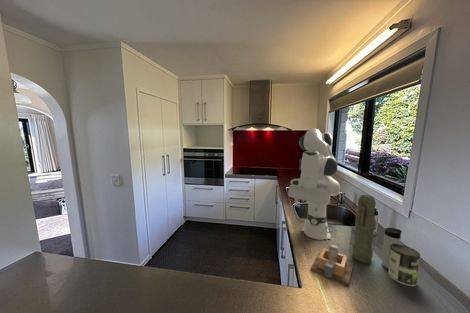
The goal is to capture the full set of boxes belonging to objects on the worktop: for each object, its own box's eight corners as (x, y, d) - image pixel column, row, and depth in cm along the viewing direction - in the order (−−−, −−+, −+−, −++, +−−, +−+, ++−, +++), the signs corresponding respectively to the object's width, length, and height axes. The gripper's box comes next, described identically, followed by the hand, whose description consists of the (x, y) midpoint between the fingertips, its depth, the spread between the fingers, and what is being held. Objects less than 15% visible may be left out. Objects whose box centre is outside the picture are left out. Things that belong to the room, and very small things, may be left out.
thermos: (349, 259, 101) (355, 196, 98) (354, 250, 109) (359, 192, 107) (369, 267, 95) (375, 200, 92) (373, 257, 103) (379, 195, 100)
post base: (318, 255, 103) (320, 235, 102) (352, 268, 93) (354, 246, 93) (310, 270, 91) (312, 247, 90) (348, 286, 81) (350, 261, 80)
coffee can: (420, 282, 85) (424, 252, 84) (411, 289, 80) (414, 258, 79) (393, 268, 94) (396, 241, 93) (383, 274, 89) (386, 246, 88)
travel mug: (401, 272, 92) (405, 232, 90) (386, 269, 93) (389, 231, 92) (393, 264, 98) (396, 227, 96) (379, 262, 99) (382, 225, 98)
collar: (322, 256, 99) (323, 247, 99) (346, 265, 93) (347, 256, 92) (315, 271, 88) (315, 261, 87) (341, 282, 81) (342, 271, 81)
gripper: (332, 185, 91) (330, 212, 92) (291, 178, 103) (290, 202, 104) (330, 187, 86) (328, 216, 87) (287, 180, 98) (286, 205, 99)
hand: (307, 208), depth 96 cm, fingers open, 8 cm apart
